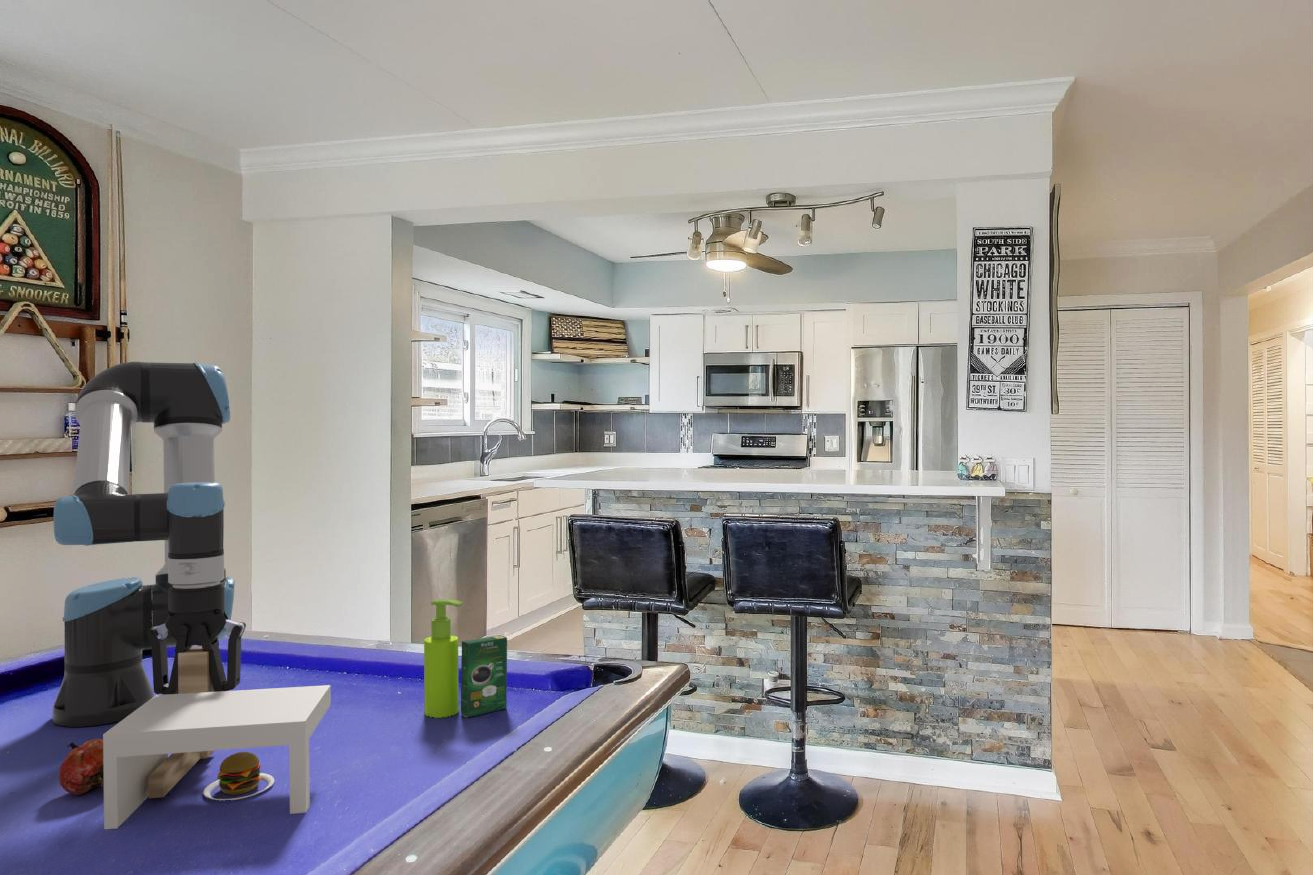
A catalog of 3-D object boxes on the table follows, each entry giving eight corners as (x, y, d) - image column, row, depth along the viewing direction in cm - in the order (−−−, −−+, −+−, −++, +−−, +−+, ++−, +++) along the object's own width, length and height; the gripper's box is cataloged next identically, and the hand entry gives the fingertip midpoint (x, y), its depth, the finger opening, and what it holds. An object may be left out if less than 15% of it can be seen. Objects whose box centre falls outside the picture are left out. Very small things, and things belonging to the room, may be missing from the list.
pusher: (189, 749, 129) (188, 646, 129) (216, 748, 129) (215, 645, 129) (139, 798, 111) (138, 679, 111) (172, 796, 112) (171, 677, 112)
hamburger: (193, 820, 108) (193, 778, 108) (187, 788, 119) (187, 749, 119) (292, 798, 115) (292, 758, 115) (279, 769, 125) (279, 733, 125)
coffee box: (500, 704, 152) (500, 633, 152) (508, 708, 150) (508, 636, 150) (460, 714, 147) (459, 640, 147) (467, 718, 145) (466, 643, 145)
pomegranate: (132, 797, 119) (99, 746, 123) (144, 765, 116) (109, 714, 120) (75, 824, 113) (41, 769, 116) (86, 790, 110) (51, 735, 113)
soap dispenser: (455, 719, 145) (454, 604, 144) (418, 716, 146) (417, 602, 146) (469, 708, 150) (468, 597, 150) (434, 705, 152) (433, 596, 152)
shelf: (156, 777, 120) (155, 695, 120) (331, 764, 125) (330, 684, 125) (104, 829, 105) (103, 734, 105) (306, 812, 109) (305, 721, 109)
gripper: (124, 590, 122) (125, 750, 122) (249, 586, 125) (250, 741, 125) (145, 581, 129) (147, 732, 129) (263, 577, 132) (264, 724, 132)
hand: (198, 736), depth 127 cm, fingers closed on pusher, 4 cm apart
